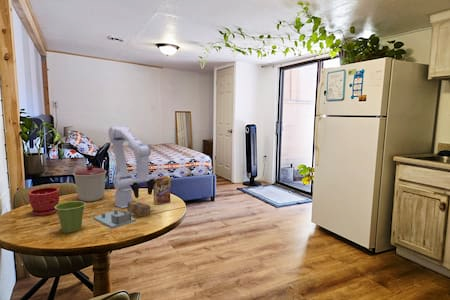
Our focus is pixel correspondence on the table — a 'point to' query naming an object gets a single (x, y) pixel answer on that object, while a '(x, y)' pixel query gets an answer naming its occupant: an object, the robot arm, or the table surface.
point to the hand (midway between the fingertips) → (143, 195)
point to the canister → (90, 183)
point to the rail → (139, 208)
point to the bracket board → (115, 218)
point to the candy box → (161, 190)
